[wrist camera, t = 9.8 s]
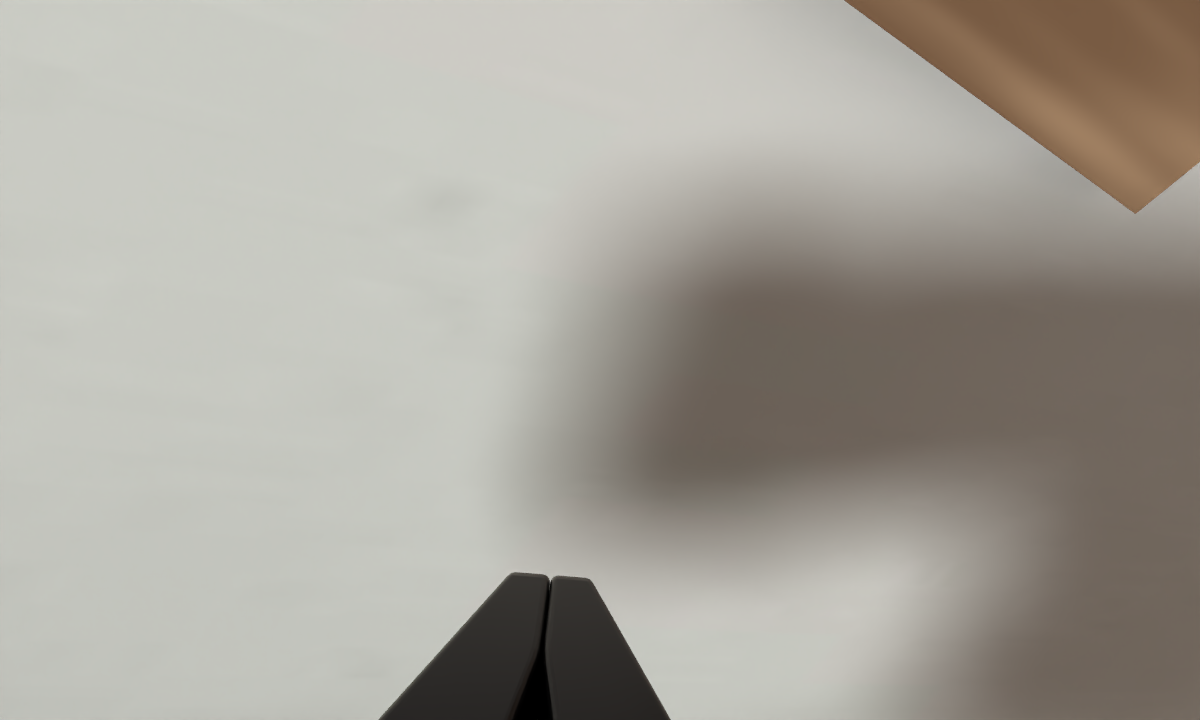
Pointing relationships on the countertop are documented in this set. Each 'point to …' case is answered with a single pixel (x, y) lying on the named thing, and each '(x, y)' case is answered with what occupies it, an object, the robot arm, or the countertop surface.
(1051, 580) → the countertop surface
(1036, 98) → the domino
